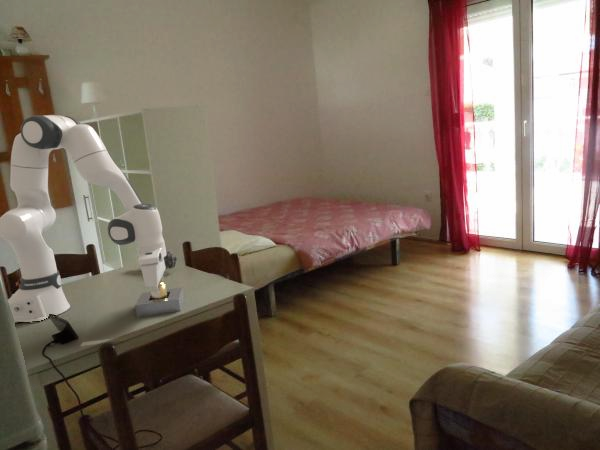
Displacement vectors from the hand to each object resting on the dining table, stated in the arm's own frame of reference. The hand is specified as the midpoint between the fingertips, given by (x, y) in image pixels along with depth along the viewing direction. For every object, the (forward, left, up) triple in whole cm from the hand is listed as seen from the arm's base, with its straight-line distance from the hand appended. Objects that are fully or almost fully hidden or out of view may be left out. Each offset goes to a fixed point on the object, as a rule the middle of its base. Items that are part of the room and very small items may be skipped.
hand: (158, 291), depth 161 cm
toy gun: (-8, +49, -7) cm, 51 cm away
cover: (0, 0, -6) cm, 6 cm away
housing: (0, 0, -7) cm, 7 cm away
